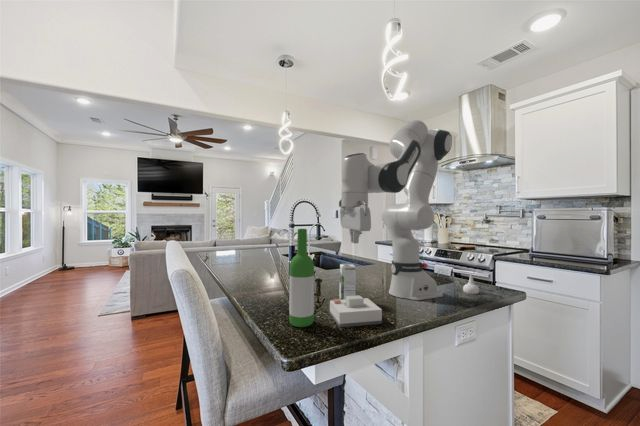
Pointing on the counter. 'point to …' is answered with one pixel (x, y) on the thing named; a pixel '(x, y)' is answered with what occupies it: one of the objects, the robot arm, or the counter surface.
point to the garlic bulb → (471, 287)
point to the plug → (354, 301)
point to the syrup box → (347, 281)
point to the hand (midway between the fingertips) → (354, 242)
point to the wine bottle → (301, 285)
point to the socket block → (355, 313)
